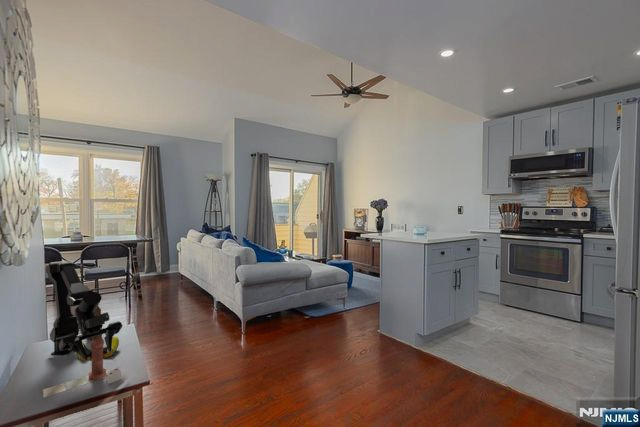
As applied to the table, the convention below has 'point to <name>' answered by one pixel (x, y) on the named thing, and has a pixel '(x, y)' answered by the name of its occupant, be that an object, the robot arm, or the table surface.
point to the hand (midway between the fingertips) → (98, 355)
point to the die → (113, 375)
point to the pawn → (97, 360)
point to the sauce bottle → (98, 313)
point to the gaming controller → (105, 351)
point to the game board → (69, 385)
